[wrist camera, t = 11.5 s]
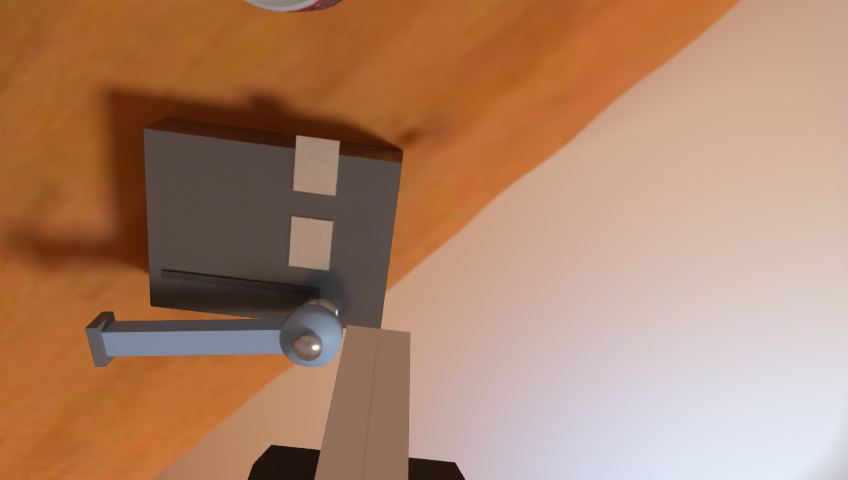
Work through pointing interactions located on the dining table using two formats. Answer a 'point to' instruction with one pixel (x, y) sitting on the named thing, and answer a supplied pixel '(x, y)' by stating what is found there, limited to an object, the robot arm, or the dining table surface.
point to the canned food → (293, 5)
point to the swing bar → (215, 336)
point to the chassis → (268, 223)
